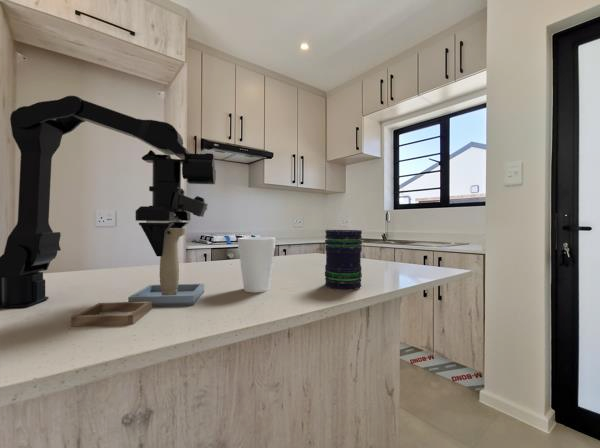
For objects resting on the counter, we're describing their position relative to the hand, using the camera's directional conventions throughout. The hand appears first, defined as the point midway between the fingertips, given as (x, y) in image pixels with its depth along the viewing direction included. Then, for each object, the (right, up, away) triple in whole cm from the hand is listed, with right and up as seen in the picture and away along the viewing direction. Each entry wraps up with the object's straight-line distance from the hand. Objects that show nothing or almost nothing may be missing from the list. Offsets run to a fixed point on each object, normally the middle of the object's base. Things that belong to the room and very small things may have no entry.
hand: (166, 253), depth 67 cm
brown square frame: (-4, -10, -12) cm, 16 cm away
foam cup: (+19, -10, +10) cm, 23 cm away
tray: (+1, -10, 0) cm, 10 cm away
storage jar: (+41, -10, +15) cm, 45 cm away
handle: (+1, -10, 0) cm, 10 cm away
